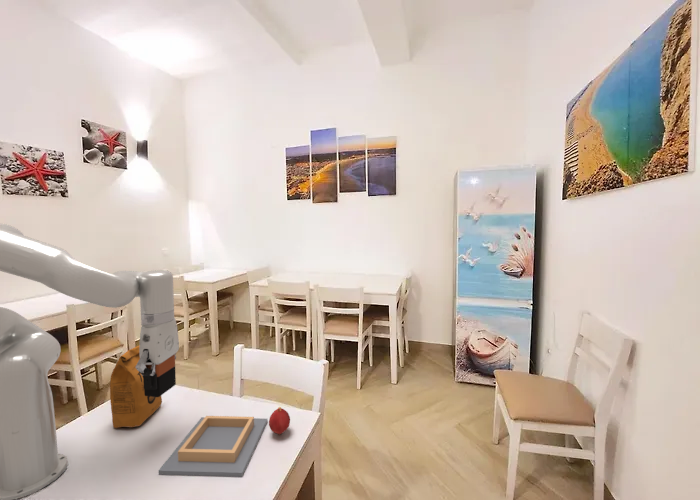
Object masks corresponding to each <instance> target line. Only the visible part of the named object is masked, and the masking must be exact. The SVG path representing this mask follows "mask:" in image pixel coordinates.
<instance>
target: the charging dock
mask: <svg viewBox="0 0 700 500" xmlns="http://www.w3.org/2000/svg"><path fill="white" fill-rule="evenodd" d="M268 423H269V420H268V418H258V417H257V418H255V417H254V416H237V415H236V416H235V415H233V416H232V415H231V416H230V415H229V416H228V415H225V416H224V415H223V416H222V415H206V416H205V417H204V416H203V417H200V418H199V420H198V421H197V422H196V424H195V425H194V426H193V427H192V428H191V429H190V431H189V432H188V433H187V434H186V436H185V437H184V439H183V440H182V441H181V442H180V444H179V445H178V446H177V447H175V448H176V449H175V450H173V452H172V454H171V455H169V457H168V458H167V459H166V461H165V462H164V463H163V464H162V465H161V467H160V468H159V469H158V475H162V476H163V475H166V476H168V475H169V476H197V477H198V476H200V477H201V476H202V477H235V478H237V477H238V478H239V477H240V478H242V477H243V476H244V474H245V472H246V469H247V467H248V465H249V463H250V461H251V458H252V456H253V454H254V453H255V450H256V448H257V446H258V443H259V441H260V439H261V437H262V434H263V432H264V430H265V428H266V426H267V425H268Z"/></svg>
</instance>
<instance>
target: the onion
mask: <svg viewBox="0 0 700 500" xmlns="http://www.w3.org/2000/svg"><path fill="white" fill-rule="evenodd" d="M290 424H291V417H290V414H289V412H288V411H287V410H285V409H284V408H282V407H280V406H279V407H278V408H277V409H275V410H274V411H273V412H272V413H271V415H270V416H269V420H268V426H269V429H270V431H271V432H273V433H275V434H277V435H279V436H280V435H282V434H283V433H284V432H286V431H287V429H289V427H290Z"/></svg>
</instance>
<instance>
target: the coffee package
mask: <svg viewBox="0 0 700 500" xmlns="http://www.w3.org/2000/svg"><path fill="white" fill-rule="evenodd" d="M139 359H140V353H139V345H137V346H134V347H132V348H131V349H128V350H127V351H126V352H124V353H123V354H121V355H120V356H119V358H118V360H117V362H116V364H115V367H114V368H113V370H112V373H111V375H110V382H109V398H110V399H109V400H110V409H111V418H112V419H111V420H112V427H113V428H114V429H117V428H123V427H127V428H134V427H140V426H141V425H142V424H143V423H144V422H145V421H146V420H147V419H148V418H150V417H151V416H152V415H153V414H154V413H155V412H156V411H157V410H158V409H159V408H160V407H161V405H162V403H163V399H162V395H161V396H160V397H150V396H145V393H144V382H143V376H142V375H141V373H139V371H138V370H137V369H136V365H137V363H138V361H139Z"/></svg>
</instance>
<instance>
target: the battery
mask: <svg viewBox="0 0 700 500" xmlns="http://www.w3.org/2000/svg"><path fill="white" fill-rule="evenodd" d="M149 362H151V360H150V361H149ZM148 368H149V369H150V370H151V368H152V365H148ZM155 374H157V389H156V390H145V389H144V393H145V396H150V397H160V396H161V397H162V396H163V395H164V394H165V393H166V392H168V391H170V390H171V389H172V388H174V387H175V386H176V385H177V383H176V382H177V381H176V379H177V377H176V359H175V354H174V355H172V356H171V357H170V358H168V359H167V360H165V361H164V362H162V363H161V364H159V365H156V371H155Z"/></svg>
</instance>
